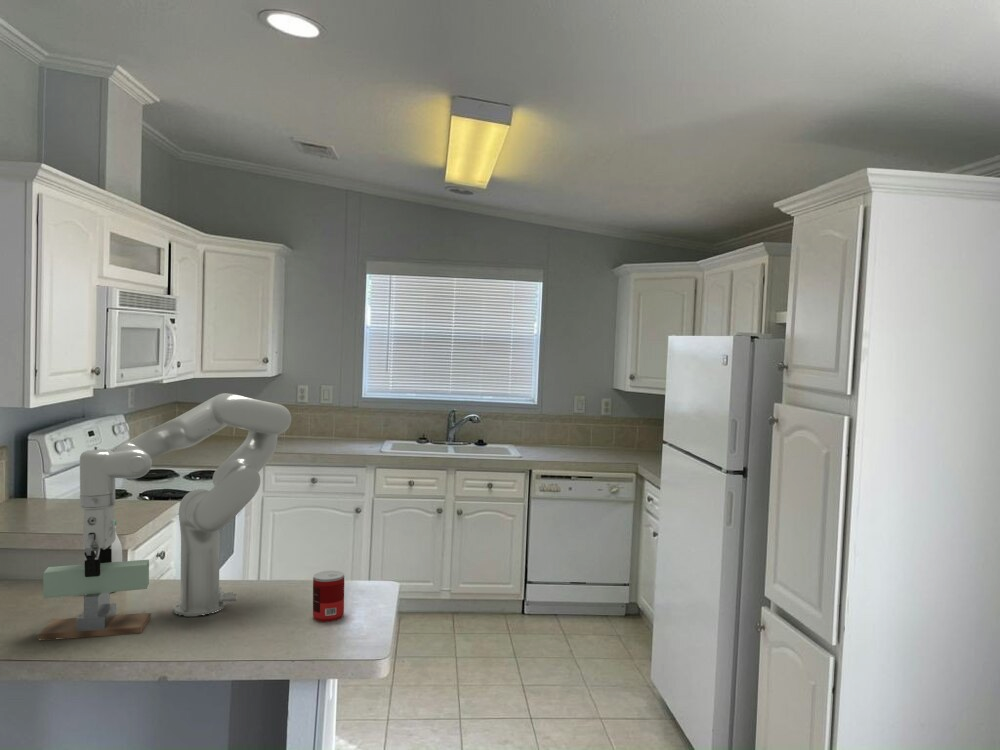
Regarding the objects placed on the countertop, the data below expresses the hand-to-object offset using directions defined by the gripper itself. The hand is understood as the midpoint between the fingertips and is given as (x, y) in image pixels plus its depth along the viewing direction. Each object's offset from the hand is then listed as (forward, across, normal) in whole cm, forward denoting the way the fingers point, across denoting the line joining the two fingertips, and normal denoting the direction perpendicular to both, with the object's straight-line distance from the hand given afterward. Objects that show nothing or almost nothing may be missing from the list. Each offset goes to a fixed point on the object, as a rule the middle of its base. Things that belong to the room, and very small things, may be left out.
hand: (98, 570), depth 175 cm
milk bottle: (+15, +32, +6) cm, 36 cm away
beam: (+5, 0, 0) cm, 5 cm away
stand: (+14, 0, 0) cm, 14 cm away
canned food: (+15, -3, -54) cm, 57 cm away
